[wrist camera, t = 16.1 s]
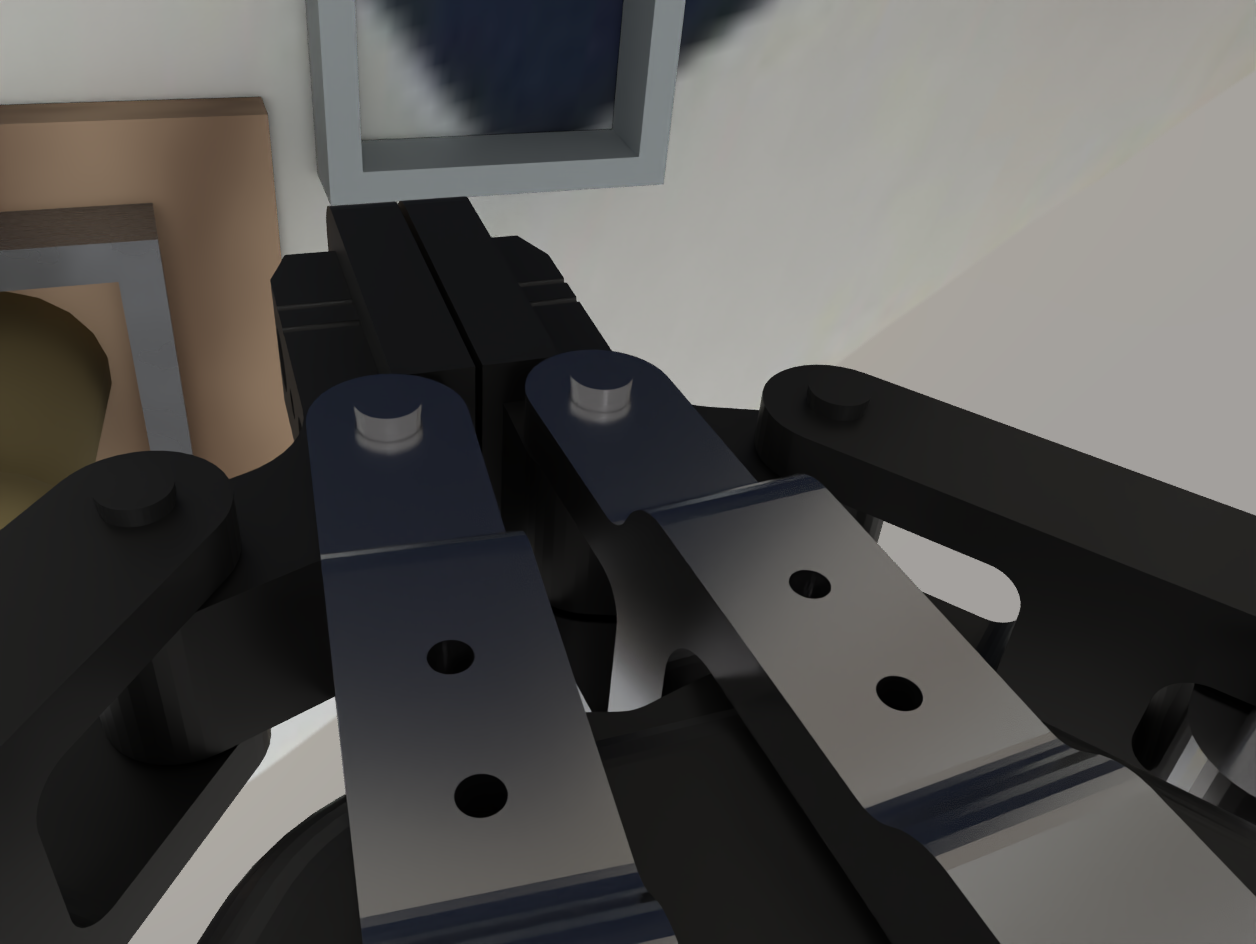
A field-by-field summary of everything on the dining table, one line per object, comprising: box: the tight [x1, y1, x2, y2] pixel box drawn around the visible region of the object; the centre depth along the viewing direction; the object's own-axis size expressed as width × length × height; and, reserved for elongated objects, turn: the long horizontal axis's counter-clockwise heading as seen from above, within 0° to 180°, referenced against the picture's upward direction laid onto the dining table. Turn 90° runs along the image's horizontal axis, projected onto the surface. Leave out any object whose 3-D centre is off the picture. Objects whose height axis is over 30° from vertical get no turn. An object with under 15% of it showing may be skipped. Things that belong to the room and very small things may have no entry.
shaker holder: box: [305, 0, 685, 206], centre depth 34 cm, size 11×11×2 cm
